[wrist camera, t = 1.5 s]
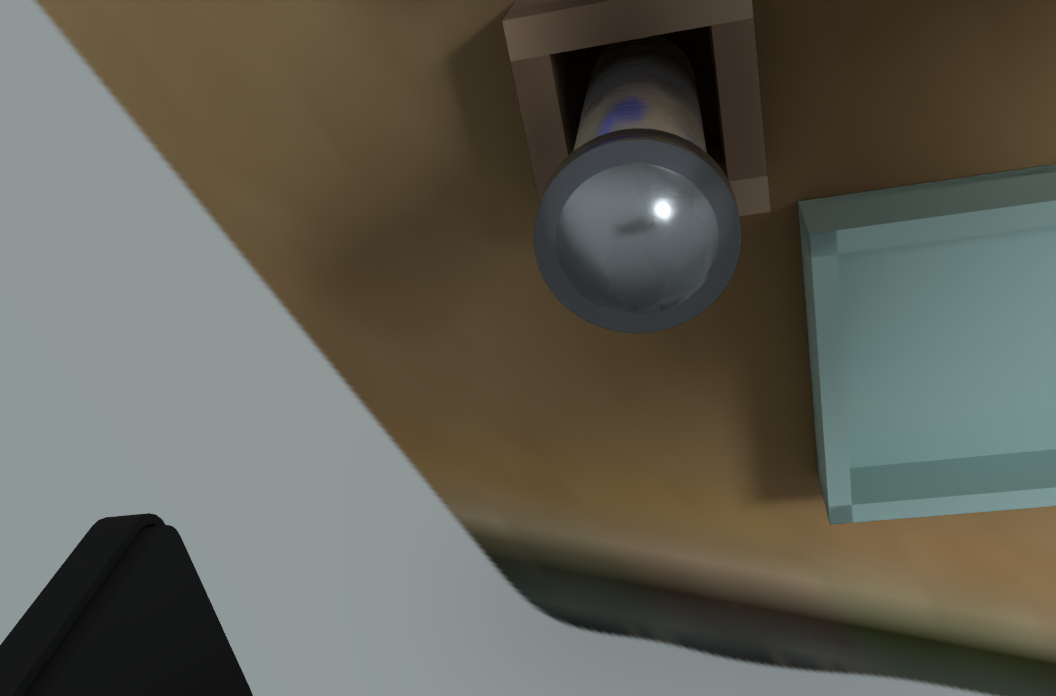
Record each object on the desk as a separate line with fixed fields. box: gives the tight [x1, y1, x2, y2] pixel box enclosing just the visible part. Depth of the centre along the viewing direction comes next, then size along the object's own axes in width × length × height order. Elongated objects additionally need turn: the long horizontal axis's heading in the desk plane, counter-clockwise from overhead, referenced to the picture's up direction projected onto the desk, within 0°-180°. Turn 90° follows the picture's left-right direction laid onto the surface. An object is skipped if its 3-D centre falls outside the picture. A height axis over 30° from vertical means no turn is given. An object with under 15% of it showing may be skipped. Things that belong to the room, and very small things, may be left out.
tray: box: [798, 164, 1056, 524], centre depth 29 cm, size 10×10×2 cm
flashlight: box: [534, 36, 742, 333], centre depth 23 cm, size 4×4×11 cm
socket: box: [502, 0, 771, 216], centre depth 26 cm, size 6×6×3 cm
